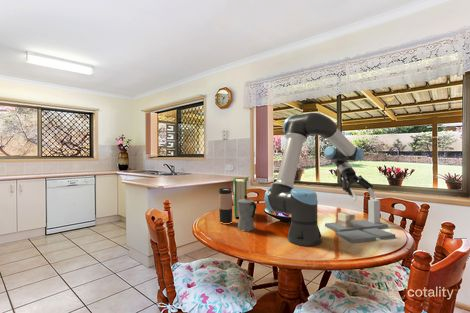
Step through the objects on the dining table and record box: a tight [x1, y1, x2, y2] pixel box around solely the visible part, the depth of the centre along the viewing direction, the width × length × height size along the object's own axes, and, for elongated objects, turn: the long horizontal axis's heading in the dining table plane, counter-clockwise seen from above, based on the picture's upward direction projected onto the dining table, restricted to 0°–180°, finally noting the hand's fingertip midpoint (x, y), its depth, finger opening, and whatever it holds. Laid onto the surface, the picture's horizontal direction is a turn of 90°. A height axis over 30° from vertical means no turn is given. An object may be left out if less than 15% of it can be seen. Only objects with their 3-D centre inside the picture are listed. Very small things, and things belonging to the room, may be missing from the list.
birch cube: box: [337, 211, 356, 227], centre depth 132 cm, size 6×6×6 cm
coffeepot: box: [237, 195, 257, 232], centre depth 133 cm, size 15×9×18 cm, turn 33°
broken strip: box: [335, 228, 396, 244], centre depth 119 cm, size 24×11×2 cm, turn 105°
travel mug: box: [218, 187, 233, 223], centre depth 146 cm, size 8×8×20 cm
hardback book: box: [232, 177, 248, 218], centre depth 164 cm, size 18×7×24 cm, turn 3°
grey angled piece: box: [324, 199, 389, 232], centre depth 134 cm, size 30×12×14 cm, turn 105°
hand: (365, 198), depth 144 cm, fingers open, 13 cm apart
